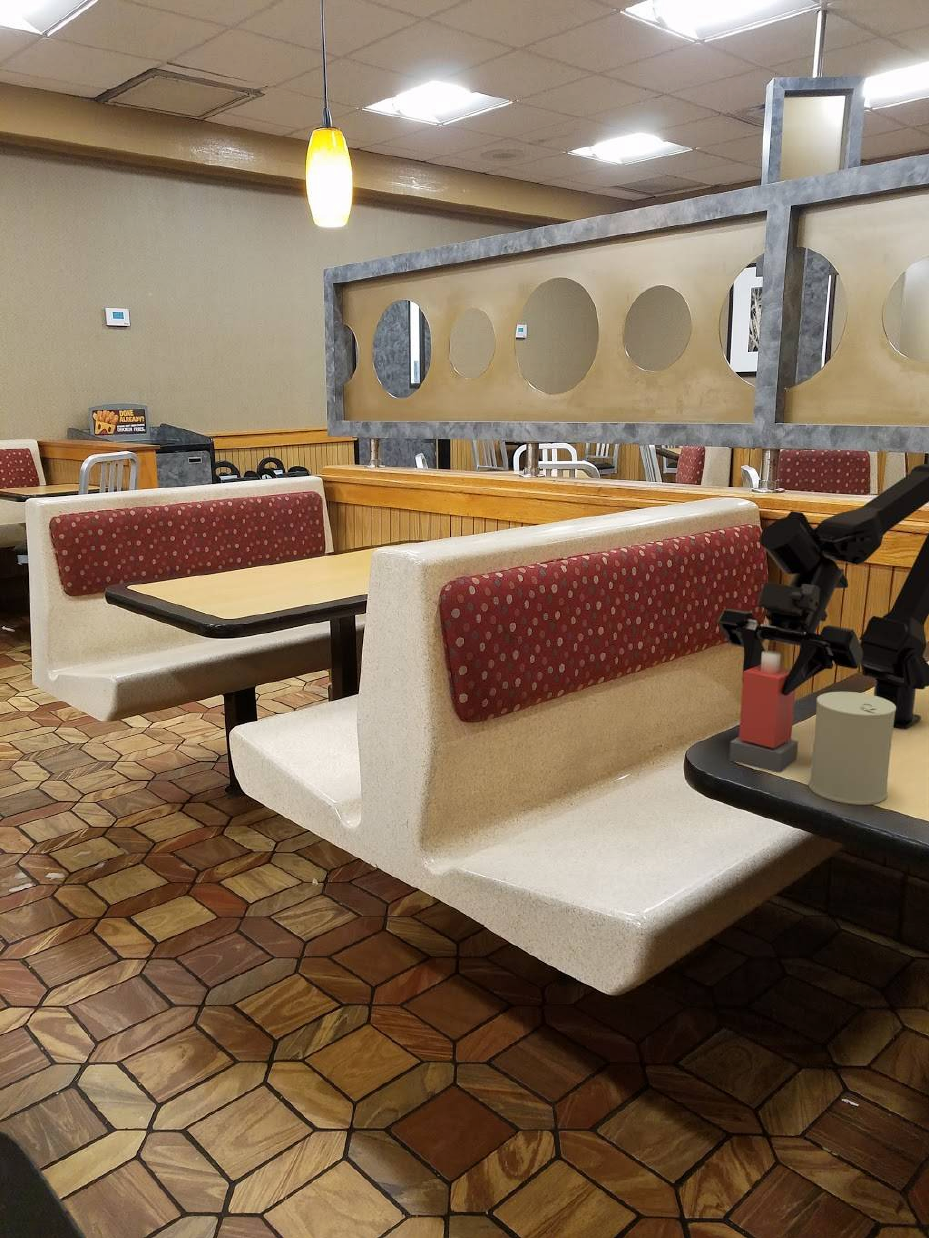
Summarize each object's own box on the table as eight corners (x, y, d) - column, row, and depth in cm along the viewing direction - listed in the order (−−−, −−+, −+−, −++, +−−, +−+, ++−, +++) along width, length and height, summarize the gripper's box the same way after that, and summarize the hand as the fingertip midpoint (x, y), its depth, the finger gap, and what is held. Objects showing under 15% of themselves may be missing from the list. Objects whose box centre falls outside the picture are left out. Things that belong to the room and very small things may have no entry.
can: (838, 808, 116) (847, 713, 113) (793, 780, 125) (801, 690, 122) (903, 800, 119) (914, 707, 116) (855, 772, 127) (863, 685, 124)
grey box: (747, 750, 136) (748, 729, 135) (796, 761, 132) (798, 740, 131) (729, 762, 132) (730, 741, 131) (779, 775, 127) (781, 753, 127)
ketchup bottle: (757, 730, 134) (763, 646, 132) (791, 738, 131) (797, 653, 128) (739, 739, 131) (744, 653, 128) (773, 748, 127) (780, 660, 125)
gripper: (728, 551, 134) (681, 643, 129) (862, 568, 122) (816, 670, 117) (752, 598, 142) (708, 687, 137) (881, 618, 129) (838, 717, 124)
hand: (763, 689), depth 128 cm, fingers open, 5 cm apart
